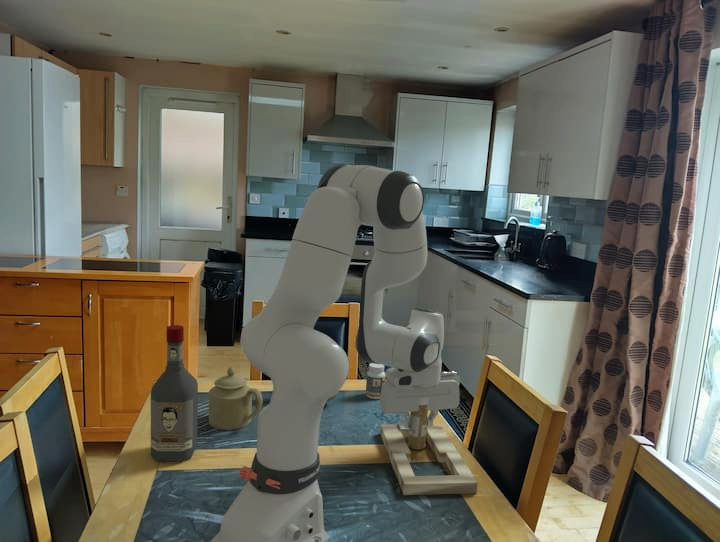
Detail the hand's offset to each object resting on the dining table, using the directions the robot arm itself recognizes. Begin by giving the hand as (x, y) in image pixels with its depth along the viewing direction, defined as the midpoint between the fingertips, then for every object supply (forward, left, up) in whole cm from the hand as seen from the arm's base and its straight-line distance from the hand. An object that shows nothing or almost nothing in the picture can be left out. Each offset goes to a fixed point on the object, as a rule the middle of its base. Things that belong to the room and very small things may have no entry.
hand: (418, 426), depth 134 cm
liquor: (-37, +45, -6) cm, 58 cm away
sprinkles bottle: (0, 0, -5) cm, 5 cm away
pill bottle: (+22, +24, -6) cm, 33 cm away
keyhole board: (-5, -4, -5) cm, 9 cm away
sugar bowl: (-16, +45, -6) cm, 48 cm away
